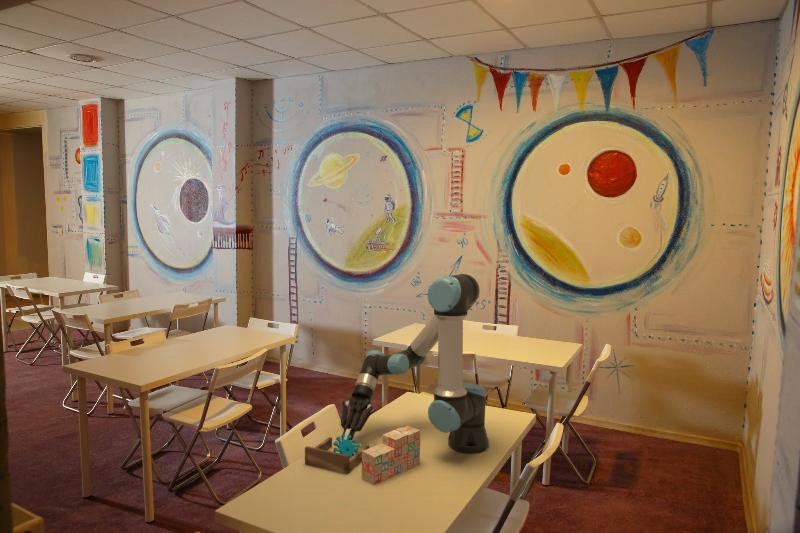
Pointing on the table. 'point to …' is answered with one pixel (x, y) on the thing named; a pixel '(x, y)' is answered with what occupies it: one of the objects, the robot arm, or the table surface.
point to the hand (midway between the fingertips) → (343, 447)
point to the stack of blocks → (392, 455)
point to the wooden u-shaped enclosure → (332, 458)
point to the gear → (346, 446)
